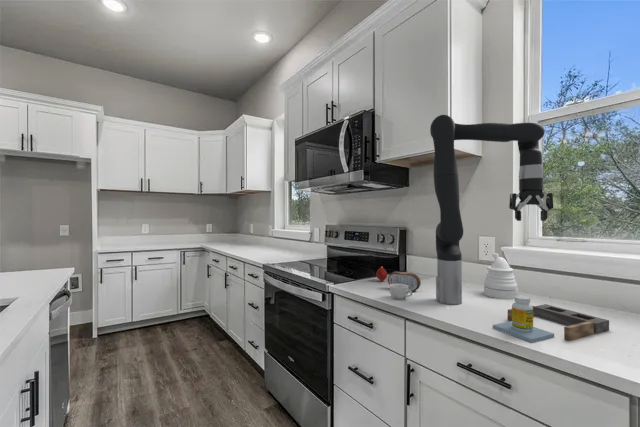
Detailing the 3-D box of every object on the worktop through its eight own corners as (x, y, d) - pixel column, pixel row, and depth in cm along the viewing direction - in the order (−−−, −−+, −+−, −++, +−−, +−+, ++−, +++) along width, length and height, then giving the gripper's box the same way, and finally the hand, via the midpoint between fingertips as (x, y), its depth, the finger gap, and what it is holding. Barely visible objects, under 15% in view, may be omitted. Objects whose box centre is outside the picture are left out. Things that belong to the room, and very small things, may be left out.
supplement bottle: (517, 324, 97) (517, 294, 97) (536, 329, 93) (536, 297, 93) (508, 328, 94) (508, 296, 94) (528, 333, 90) (528, 300, 90)
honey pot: (478, 294, 137) (478, 254, 137) (491, 289, 145) (491, 251, 145) (510, 300, 127) (510, 257, 127) (522, 295, 135) (522, 254, 135)
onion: (375, 280, 167) (374, 265, 167) (385, 280, 168) (385, 265, 168) (377, 282, 161) (377, 267, 161) (388, 282, 162) (388, 267, 162)
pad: (514, 323, 101) (514, 320, 101) (554, 337, 90) (554, 333, 90) (492, 328, 97) (492, 324, 97) (531, 342, 86) (531, 339, 86)
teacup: (386, 298, 132) (385, 285, 132) (396, 295, 137) (396, 282, 137) (406, 303, 125) (406, 289, 125) (416, 299, 130) (416, 286, 130)
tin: (420, 291, 143) (420, 273, 143) (419, 293, 140) (418, 274, 140) (389, 287, 151) (389, 270, 151) (387, 289, 148) (387, 271, 148)
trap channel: (545, 312, 112) (545, 302, 112) (609, 330, 95) (609, 318, 95) (507, 320, 104) (507, 309, 104) (568, 340, 87) (568, 328, 87)
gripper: (515, 177, 114) (515, 221, 114) (557, 176, 112) (557, 221, 112) (506, 179, 121) (506, 220, 121) (545, 178, 119) (545, 220, 119)
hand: (531, 220), depth 117 cm, fingers open, 8 cm apart
